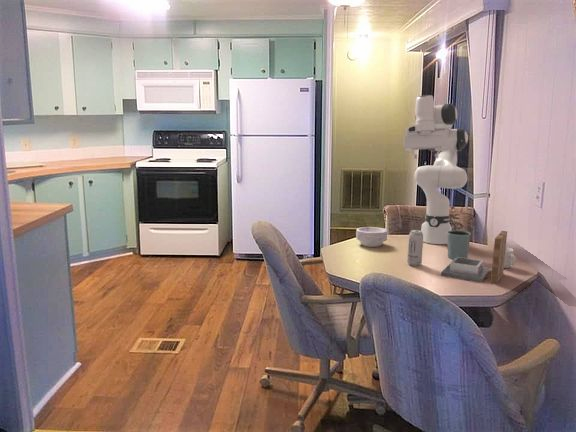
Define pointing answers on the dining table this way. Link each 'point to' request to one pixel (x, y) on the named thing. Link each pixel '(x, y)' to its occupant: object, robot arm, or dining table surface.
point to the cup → (509, 257)
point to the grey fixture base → (466, 269)
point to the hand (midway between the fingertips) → (426, 158)
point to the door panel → (498, 257)
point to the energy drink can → (415, 248)
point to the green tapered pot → (458, 244)
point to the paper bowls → (371, 236)
